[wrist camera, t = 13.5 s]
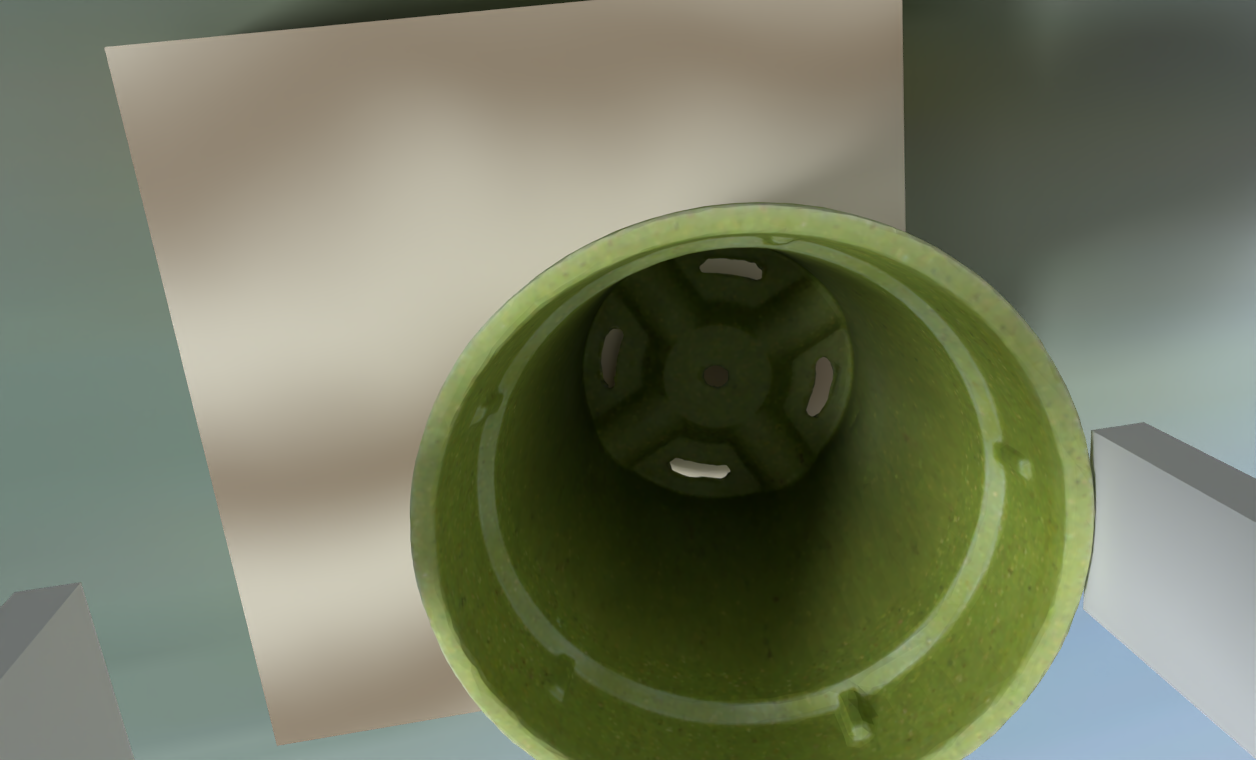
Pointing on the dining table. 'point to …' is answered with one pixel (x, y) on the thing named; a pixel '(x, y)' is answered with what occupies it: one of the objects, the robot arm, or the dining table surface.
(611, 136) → the birch pedestal block
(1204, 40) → the dining table surface
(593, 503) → the plant pot
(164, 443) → the dining table surface
